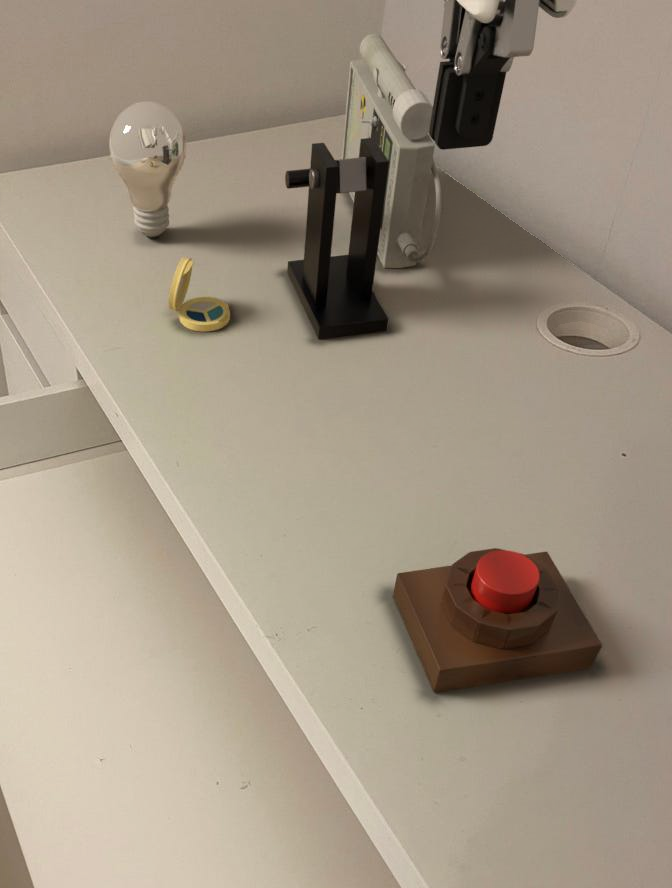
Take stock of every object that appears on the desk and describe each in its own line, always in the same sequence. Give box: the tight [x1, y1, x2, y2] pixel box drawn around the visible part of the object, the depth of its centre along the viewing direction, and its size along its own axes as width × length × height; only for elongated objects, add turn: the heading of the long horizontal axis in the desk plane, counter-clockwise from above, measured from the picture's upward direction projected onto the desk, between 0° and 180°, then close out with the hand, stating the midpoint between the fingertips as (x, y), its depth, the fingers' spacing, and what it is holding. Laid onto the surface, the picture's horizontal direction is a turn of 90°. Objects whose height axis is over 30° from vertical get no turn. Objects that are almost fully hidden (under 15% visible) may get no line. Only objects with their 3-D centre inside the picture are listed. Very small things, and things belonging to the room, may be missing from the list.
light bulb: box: [108, 100, 187, 239], centre depth 90 cm, size 7×7×12 cm
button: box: [471, 549, 540, 614], centre depth 58 cm, size 4×4×2 cm
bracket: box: [286, 138, 389, 340], centre depth 81 cm, size 11×6×13 cm, turn 10°
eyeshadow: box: [168, 257, 231, 332], centre depth 83 cm, size 4×5×5 cm
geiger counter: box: [341, 33, 442, 269], centre depth 89 cm, size 14×6×25 cm
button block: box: [392, 547, 603, 694], centre depth 59 cm, size 10×8×4 cm
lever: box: [284, 157, 367, 194], centre depth 82 cm, size 12×5×2 cm, turn 10°
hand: (459, 141), depth 56 cm, fingers closed
